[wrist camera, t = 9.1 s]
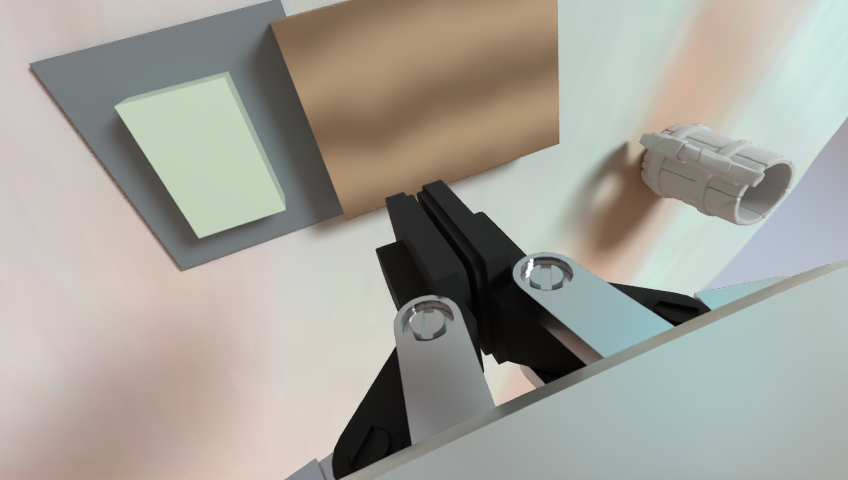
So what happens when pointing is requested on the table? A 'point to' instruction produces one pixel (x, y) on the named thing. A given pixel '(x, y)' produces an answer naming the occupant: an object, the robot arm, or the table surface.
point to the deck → (422, 89)
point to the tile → (205, 152)
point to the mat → (183, 62)
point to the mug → (715, 173)
